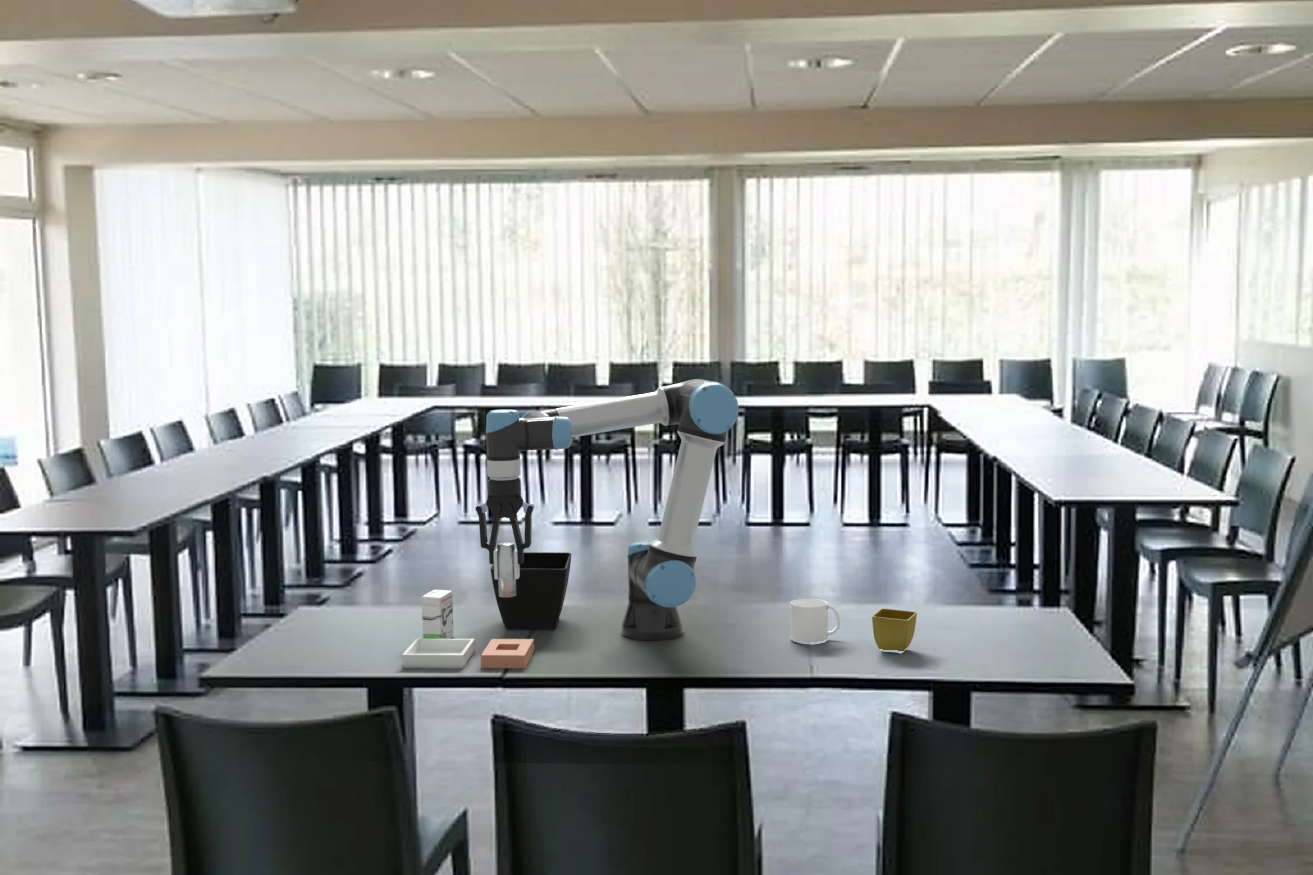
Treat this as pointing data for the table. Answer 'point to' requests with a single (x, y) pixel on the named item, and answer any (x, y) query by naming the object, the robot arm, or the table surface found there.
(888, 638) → the flower pot
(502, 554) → the pin
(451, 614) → the ink box
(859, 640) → the table surface
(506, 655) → the hitch plate
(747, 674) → the table surface
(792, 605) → the mug
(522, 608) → the flower pot
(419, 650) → the tray
